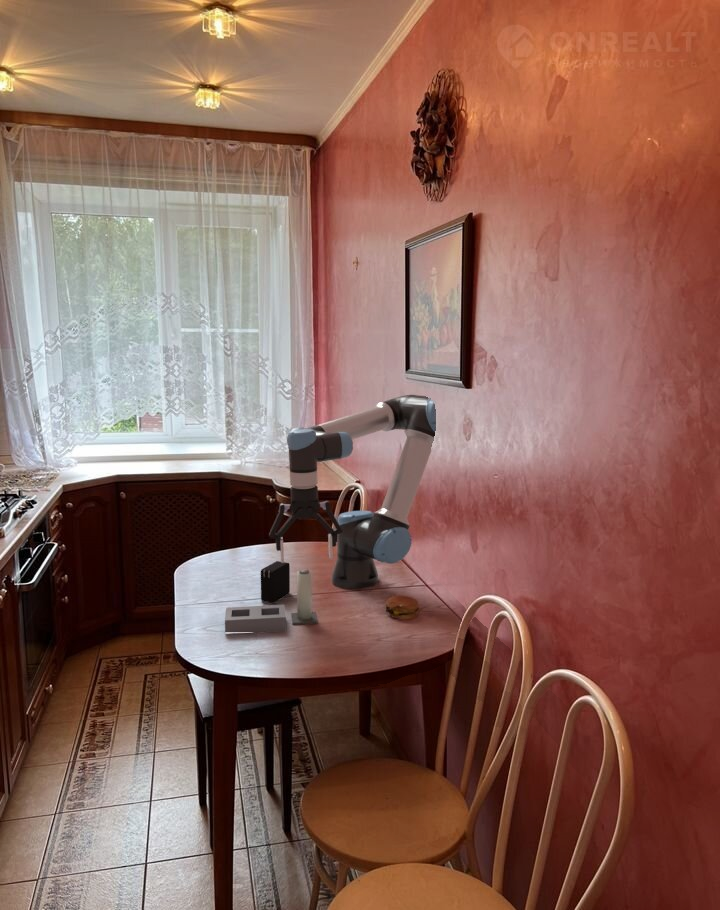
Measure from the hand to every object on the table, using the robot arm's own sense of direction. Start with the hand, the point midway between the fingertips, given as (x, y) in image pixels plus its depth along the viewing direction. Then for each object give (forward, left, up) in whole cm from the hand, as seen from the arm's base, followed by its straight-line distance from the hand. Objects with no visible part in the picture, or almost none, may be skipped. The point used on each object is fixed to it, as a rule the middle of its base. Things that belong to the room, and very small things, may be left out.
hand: (306, 559), depth 190 cm
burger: (-27, +2, -17) cm, 32 cm away
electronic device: (+8, -15, -17) cm, 24 cm away
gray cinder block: (+14, +6, -16) cm, 23 cm away
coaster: (+1, +3, -16) cm, 17 cm away
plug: (+1, +3, -16) cm, 16 cm away
